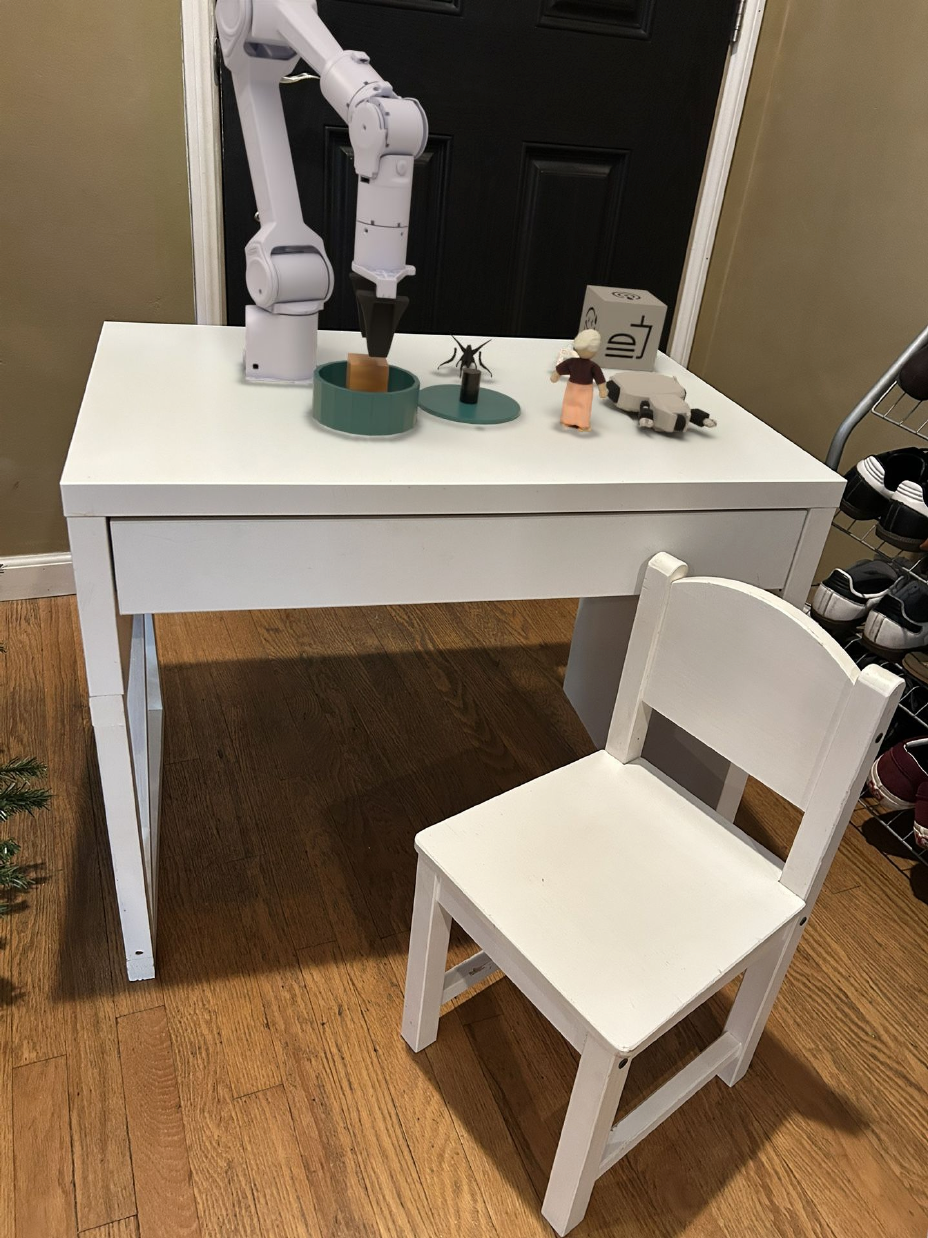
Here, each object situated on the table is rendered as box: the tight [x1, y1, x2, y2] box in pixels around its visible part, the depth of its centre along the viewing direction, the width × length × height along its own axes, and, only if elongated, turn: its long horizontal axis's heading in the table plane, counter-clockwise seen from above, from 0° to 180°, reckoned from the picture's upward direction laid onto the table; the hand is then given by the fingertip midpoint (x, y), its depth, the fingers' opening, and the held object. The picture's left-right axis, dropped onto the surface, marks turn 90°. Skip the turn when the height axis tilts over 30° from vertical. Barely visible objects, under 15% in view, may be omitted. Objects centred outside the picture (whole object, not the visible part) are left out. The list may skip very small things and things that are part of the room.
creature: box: [437, 333, 493, 379], centre depth 133 cm, size 8×5×8 cm
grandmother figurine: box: [549, 329, 608, 432], centre depth 117 cm, size 8×4×13 cm, turn 71°
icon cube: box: [577, 284, 668, 372], centre depth 149 cm, size 10×10×10 cm
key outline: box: [555, 348, 596, 383], centre depth 142 cm, size 13×5×2 cm, turn 11°
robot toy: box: [606, 370, 718, 433], centre depth 126 cm, size 12×4×15 cm
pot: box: [311, 359, 421, 437], centre depth 113 cm, size 12×13×6 cm
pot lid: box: [418, 367, 522, 425], centre depth 121 cm, size 14×14×5 cm
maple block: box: [346, 352, 390, 393], centre depth 112 cm, size 4×4×7 cm
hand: (373, 346), depth 110 cm, fingers open, 7 cm apart
